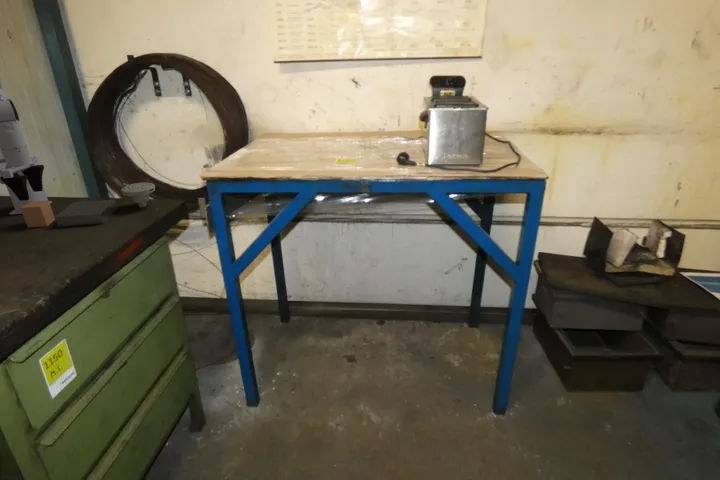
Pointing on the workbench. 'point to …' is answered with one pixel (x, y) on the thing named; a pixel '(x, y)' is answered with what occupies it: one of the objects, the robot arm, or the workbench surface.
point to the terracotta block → (38, 213)
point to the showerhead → (138, 192)
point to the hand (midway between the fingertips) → (31, 195)
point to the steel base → (86, 213)
